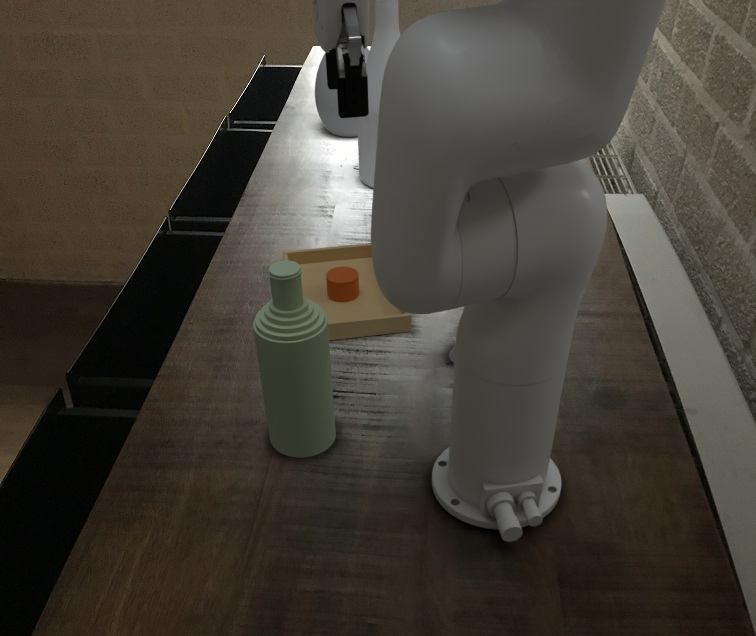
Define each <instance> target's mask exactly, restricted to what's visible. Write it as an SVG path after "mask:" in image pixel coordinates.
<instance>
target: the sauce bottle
mask: <svg viewBox="0 0 756 636" xmlns="http://www.w3.org/2000/svg"><path fill="white" fill-rule="evenodd" d="M267 275H268V277H269V283H270V292H271V298H270V300H269V301H267V303H265V304H264V305H263V306H261V307H262V308H260V309H259V310H258V311H257V313H256V314H255V317H254V319H253V322H252V328H253V336H254V342H255V348H256V356H257V363H258V368H259V369H258V370H259V375H260V376H259V377H260V382H261V388H262V396H263V401H264V402H263V403H264V408H265V415H266V423H267V428H268V434H269V436H268V437H269V442H270V445H271V446H272V447H273V449H274V450H276V452H278V453H280V454H281V455H284V456H286V457H290V458H296V459H299V458H300V459H302V458H310V457H315V456H318V455H320V454H322V453H324V452H326V451H327V450H328V449H329V448H331V446H332V445H333V444H334V443H335V440H336V437H337V430H336V416H335V401H334V388H333V373H332V362H331V360H332V359H331V349H330V348H331V347H330V340H329V331H328V319H327V316H326V314H325V313H324V311H323V309H322V308H321V307H320V306H319V305H317V304H315V303H314V302H312V301H311V300H309V299H308V298H306V297H304V296H303V292H302V281H301V275H302V272H301V266H300V265H299V264H298V263H296V262H294V261H289V260H283V259H282V260H278V261H275V262H273V263H272V264H270V265H269V267H268V272H267Z"/></svg>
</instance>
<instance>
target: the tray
mask: <svg viewBox="0 0 756 636" xmlns="http://www.w3.org/2000/svg"><path fill="white" fill-rule="evenodd" d="M283 260H289V261H294V262H296V263H298V264H299V265H300V266H301V272H302V275H301V281H302V292H303V296H304V297H306V298H308V299H309V300H311V301H312V302H314V303H315V304H317V305H319V306H320V307H321V308H322V309H323V311H324V313H325V314H326V316H327V319H328V331H329V341H335V340H345V339H353V338H364V337H371V336H382V335H389V334H401V333H408V332H409V333H410V332H412V315H413V314H410V313H406V312H403V311H401V310H399V309H397V308H396V307H394V306H393V305H392V304H391V303H390V302H389V301H388V300H387V299H386V298H385V296H384V295H383V293H382V291H381V289H380V287H379V285H378V283H377V280H376V276H375V273H374V268H373V262H372V253H371V242H368V243H358V244H347V245H337V246H336V245H335V246H327V247H325V246H324V247H316V248H306V249H295V250H285V251H282V261H283ZM336 267H351V268H354V269H355V270H357V272H358V274H359V296H358V297H357V298H356V299H354V300H352V301H349V302H336V301H333V300H331V299H330V298H329V297H328V295H327V282H326V273H327V272H328V271H329V270H330V269H333V268H336Z"/></svg>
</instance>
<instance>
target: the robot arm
mask: <svg viewBox="0 0 756 636" xmlns="http://www.w3.org/2000/svg"><path fill="white" fill-rule="evenodd" d="M666 1H667V0H500V1H499V2H497V3H492V4H487V5H480V6H474V7H467V8H466V7H465V8H459V9H451V10H446V11H441V12H436V13H434V14H431V15H426V16H425V17H421V18H419V19H418V20H417V21H415V22H414V23H411V25H410V26H408V27H407V28H406V29H405V30H404V31H403V32H402V33H401V34H400V35H401V36H400V37H399V39H398V40H397V42H396V44H395V45H394V47H393V49H392V51H391V54H390V56H389V58H388V61H387V64H386V68H385V71H384V76H383V81H382V89H381V97H380V106H379V119H378V133H377V146H376V160H375V174H374V188H373V187H372V188H373V190H372V203H371V217H370V218H371V219H370V222H371V223H370V243H371V253H372V262H373V268H374V273H375V276H376V280H377V283H378V285H379V287H380V289H381V291H382V293H383V295H384V296H385V298H386V299H387V300H388V301H389V302H390V303H391V304H392V305H393V306H394V307H396V308H397V309H399V310H401V311H403V312H406V313H410V314H411V315H429V314H435V313H441V312H446V311H451V310H455V309H460V308H463V309H462V313H461V315H460V317H459V321H458V325H457V329H456V335H455V343H456V346H455V360H454V363H453V376H452V377H453V379H452V394H451V395H452V396H451V412H450V428H449V429H450V430H449V444H448V445H449V446H448V447H447V448H445V449H444V450H443V451H442V452H441V454H440V455H439V456H438V457H437V458H436V460H435V461H434V464H433V466H432V471H431V488H432V492H433V494H434V496H435V499H436V500H437V502H438V503H439V505H440V506H441V508H443V509H444V510H445V511H446V512H448V514H449V515H451V516H453V517H454V518H456V519H458V520H459V521H461V522H463V523H466V524H468V525H471V526H474V527H478V528H482V529H489V530H497V531H499V534H500V537H501V539H502V540H503V541H505V542H506V543H507V542H508V543H510V542H511V543H512V542H516V541H517V540H519V539H520V538H521V537H522V536H523V528H525V527H527V526H530V527H537V526H540V525H541V524H543V521H544V520H543V519H544V518H545V517H546V516H548V515H549V514H550V513H551V512H552V511H553V510H554V509H555V507H556V505H557V504H558V502H559V500H560V497H561V491H562V486H563V485H562V476H561V473H560V470H559V467H558V466H557V464H556V463H555V462H554V461H553V459H552V458H551V454H552V449H553V444H554V439H555V432H556V428H557V421H558V417H559V411H560V410H559V409H560V406H561V399H562V393H563V389H564V383H565V377H566V372H567V367H568V362H569V357H570V351H571V347H572V340H573V336H574V335H573V334H574V331H575V326H576V322H577V318H578V315H579V314H578V313H579V311H580V306H581V303H582V300H583V297H584V295H585V292H586V289H587V287H588V284H589V282H590V279H591V277H592V274H593V273H594V270H595V268H596V265H597V262H598V260H599V257H600V255H601V252H602V249H603V245H604V242H605V237H606V233H607V226H608V204H607V197H606V193H605V191H604V187H603V186H602V183H601V181H600V179H599V177H598V176H597V175H596V173H595V172H594V171H593V170H592V169H591V168H590V167H589V166H588V165H586V164H585V163H584V162H582V161H581V160H584V159H587V158H590V157H592V156H593V155H596V154H597V153H599V152H600V151H602V150H603V149H604V148H606V147H607V146H608V144H609V143H611V142H612V140H613V138H614V137H615V135H616V134H617V133H618V131H619V129H620V127H621V124H622V122H623V120H624V118H625V116H626V113H627V111H628V108H629V106H630V103H631V100H632V97H633V95H634V92H635V89H636V86H637V84H638V80H639V78H640V75H641V72H642V69H643V66H644V63H645V61H646V59H647V55H648V53H649V49H650V46H651V43H652V41H653V38H654V36H655V34H656V33H655V32H656V30H657V27H658V24H659V21H660V19H661V15H662V13H663V9H664V7H665V5H666ZM312 7H313V27H314V28H313V29H314V34H315V37H316V39H317V42H318V44H319V47H320V48H321V50H322V51H323V52H324V54H325V55H326V71H327V85H328V88H329V89H330V90H333V89H337V98H338V114H339V116H340V118H353V117H365V116H367V115H368V114H369V105H368V75H367V74H366V63H365V54H364V50H365V49H366V48H369V45H370V33H371V32H370V31H371V30H370V29H371V28H370V23H371V21H370V19H371V18H370V0H312ZM329 49H332V50H329Z"/></svg>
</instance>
